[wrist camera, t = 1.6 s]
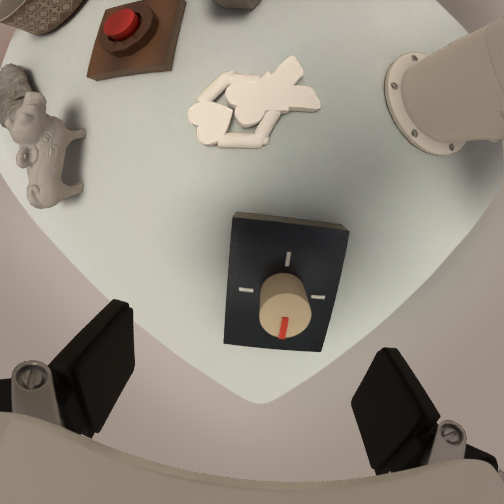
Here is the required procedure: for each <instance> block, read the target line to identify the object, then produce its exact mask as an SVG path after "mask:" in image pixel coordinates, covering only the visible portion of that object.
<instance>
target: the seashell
mask: <svg viewBox="0 0 504 504" xmlns="http://www.w3.org/2000/svg"><path fill="white" fill-rule="evenodd" d="M31 91H32V89H31V87H30V85H29V81H28V78H27V76H26V73H25V71H24V69H23V68H22V67H21V66H19V65H18V66H16V65H14V64H12V63H11V64H8V65H5V66H4V67H2V68H1V71H0V124H1V125H2V126H3V127H5V128H6V126H5V122H6V120H7V119H8V118H10V119H11V120H12V121H13V120H14V118H15V116H16V112H17V110H18V109H19V108H20V107H21V106H22V105H23V102H24V98H25V94H26V93H27V92H31Z"/></svg>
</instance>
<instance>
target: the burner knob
mask: <svg viewBox="0 0 504 504" xmlns="http://www.w3.org/2000/svg"><path fill="white" fill-rule="evenodd" d="M259 319H260V323H261V325H262V327H263V328H264V329H265V330H266V331H267V332H268V333H269V334H271V335H273V336H276V337H279V339H285V338H286V337H292V336H295V335H297V334H299V333H301V332H302V331H303V330H304V329H305V328H306V327H307V326H308V324H309V322H310V319H311V309H310V305H309V302H308V298H307V295H306V292H305V288H304V285H303V283H302V282H301V281H300V279H299V278H297V277H296V276H294V275H292V274H289V273H278V274H275V275H272V276H271V277H269V278H268V279H267V280H266V281H265V282H264V283H263V285H262V287H261V291H260V311H259Z"/></svg>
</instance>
